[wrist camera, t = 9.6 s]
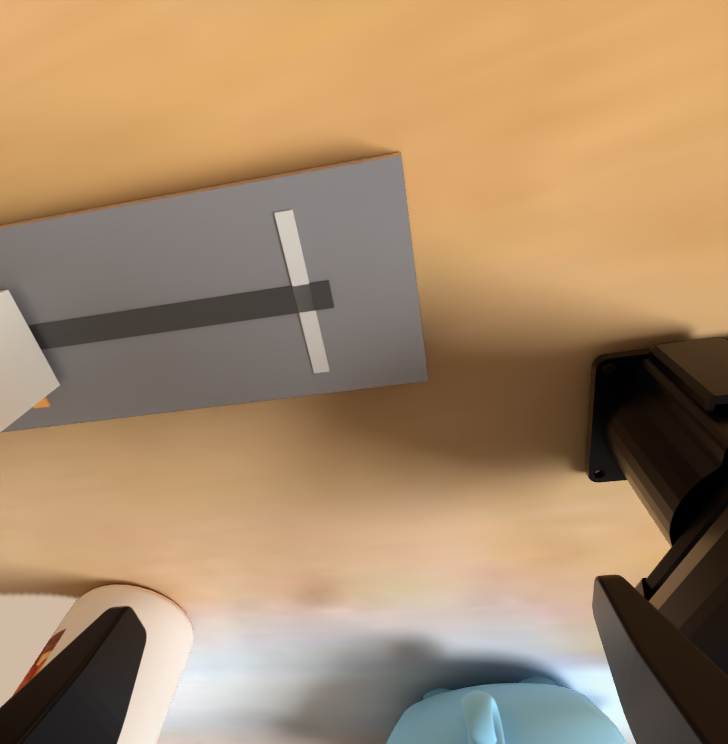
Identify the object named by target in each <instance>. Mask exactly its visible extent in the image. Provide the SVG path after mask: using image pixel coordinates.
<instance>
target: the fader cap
mask: <svg viewBox="0 0 728 744" xmlns="http://www.w3.org/2000/svg"><path fill="white" fill-rule="evenodd" d="M58 386H60V384H59V382H58V380H57V378H56V376H55V375H54V373H53V371H52V369H51V367H50V365H49V364H48V362H47V360H46V358H45V356H44V354H43V353H42V351H41V349H40V347H39V345H38V343H37V342H36V340H35V338H34V336H33V334H32V332H31V331H30V329H29V327H28V325H27V323H26V321H25V320H24V318H23V316H22V314H21V312H20V310H19V309H18V307H17V305H16V303H15V301H14V299H13V298H12V296H11V294H10V292H9V290H2V291H0V432H2V431H3V430H4V429H5V428H7V427H8V426H9V425H10V424H12V423H13V422H14V421H15V420H17V419H18V418H19V417H21V416H22V415H23V414H24V413H26V412H27V411H28V410H29V409H31V408H32V407H33V406H34V405H36V404H37V403H38V402H39V401H41V400H42V399H43V398H44V397H46V396H47V395H48V394H50V393H51V392H52V391H53V390H55V389H56V388H57V387H58Z"/></svg>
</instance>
